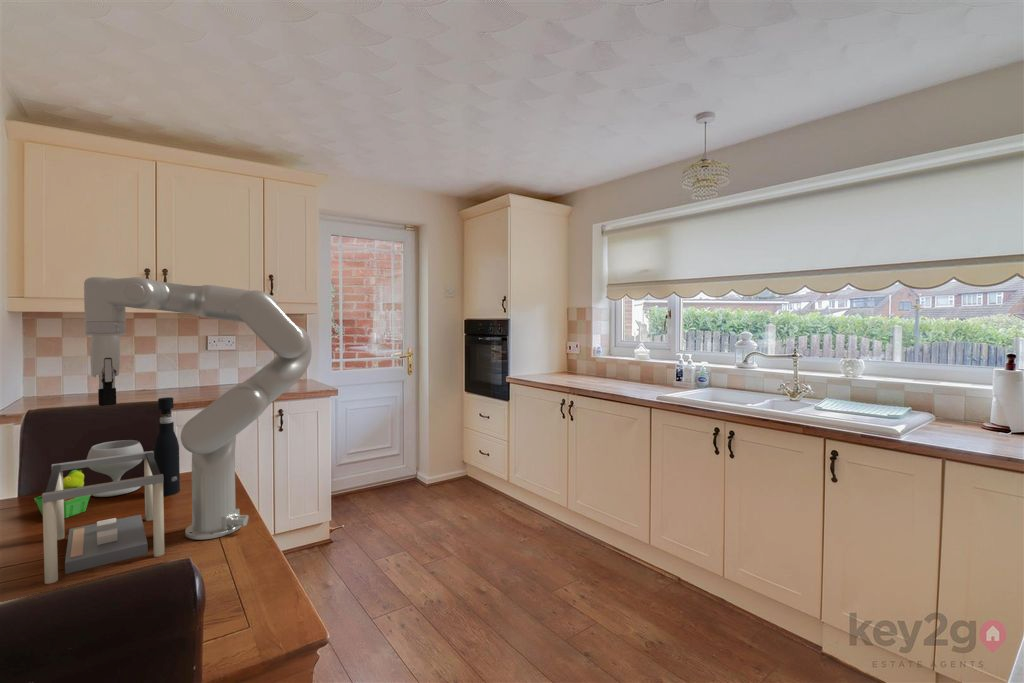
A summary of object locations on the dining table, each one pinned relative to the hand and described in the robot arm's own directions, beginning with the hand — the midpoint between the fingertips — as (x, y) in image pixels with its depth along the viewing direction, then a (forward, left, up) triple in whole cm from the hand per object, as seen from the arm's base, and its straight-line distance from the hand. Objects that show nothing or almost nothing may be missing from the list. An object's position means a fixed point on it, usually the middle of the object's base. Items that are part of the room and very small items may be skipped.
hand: (107, 404), depth 116 cm
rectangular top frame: (-1, +2, -17) cm, 17 cm away
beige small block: (+2, -1, -31) cm, 31 cm away
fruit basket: (+29, -16, -34) cm, 47 cm away
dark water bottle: (+13, -33, -34) cm, 49 cm away
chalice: (+30, -33, -34) cm, 56 cm away
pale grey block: (-4, +5, -31) cm, 32 cm away
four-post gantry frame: (-1, +2, -34) cm, 34 cm away
